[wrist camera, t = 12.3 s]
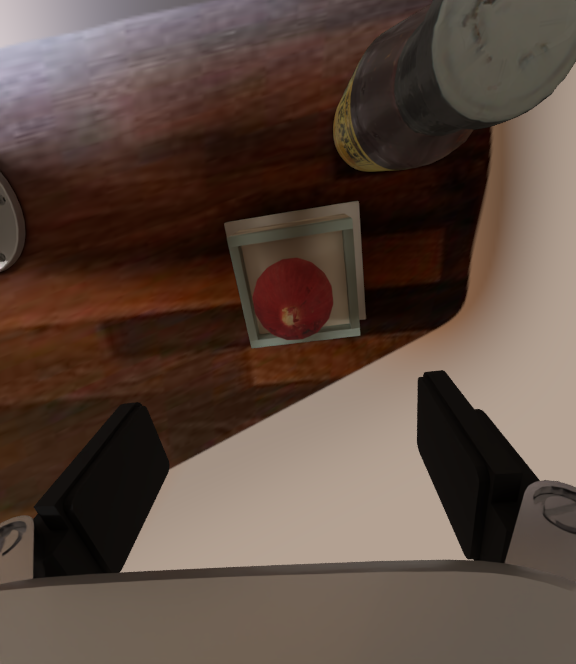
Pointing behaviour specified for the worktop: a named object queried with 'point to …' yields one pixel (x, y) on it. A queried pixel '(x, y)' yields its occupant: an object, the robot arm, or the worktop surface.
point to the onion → (293, 299)
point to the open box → (309, 244)
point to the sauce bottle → (451, 78)
